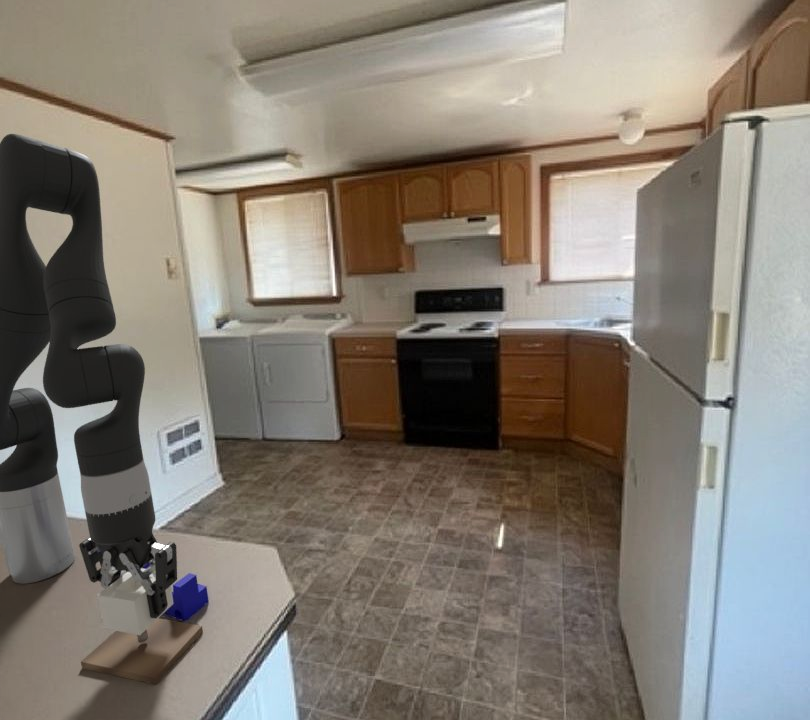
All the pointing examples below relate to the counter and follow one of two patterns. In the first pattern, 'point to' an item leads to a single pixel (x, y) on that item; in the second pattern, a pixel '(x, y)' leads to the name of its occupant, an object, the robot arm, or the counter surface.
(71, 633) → the counter surface
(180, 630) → the pin base
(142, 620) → the white hollow square block
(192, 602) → the blue curved saddle bracket
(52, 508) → the robot arm
